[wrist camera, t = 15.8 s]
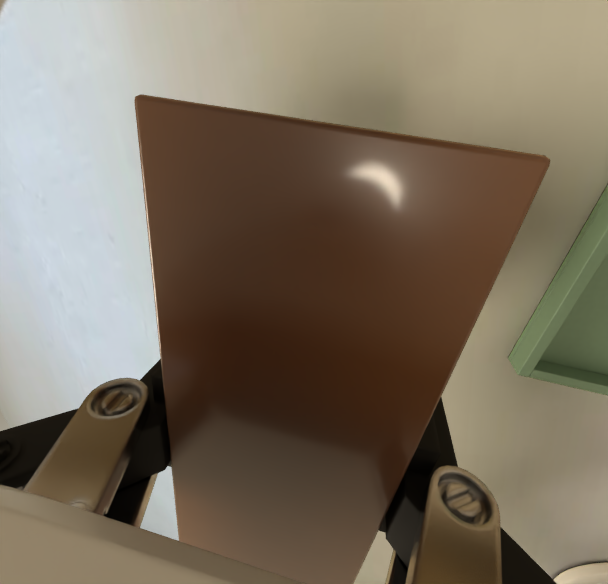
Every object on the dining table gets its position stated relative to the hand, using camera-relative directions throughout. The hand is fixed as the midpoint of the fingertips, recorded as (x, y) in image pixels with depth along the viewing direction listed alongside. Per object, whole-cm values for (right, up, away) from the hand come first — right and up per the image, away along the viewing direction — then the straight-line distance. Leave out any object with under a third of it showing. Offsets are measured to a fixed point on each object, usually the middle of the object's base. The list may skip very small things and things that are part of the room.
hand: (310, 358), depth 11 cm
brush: (0, 0, +1) cm, 1 cm away
